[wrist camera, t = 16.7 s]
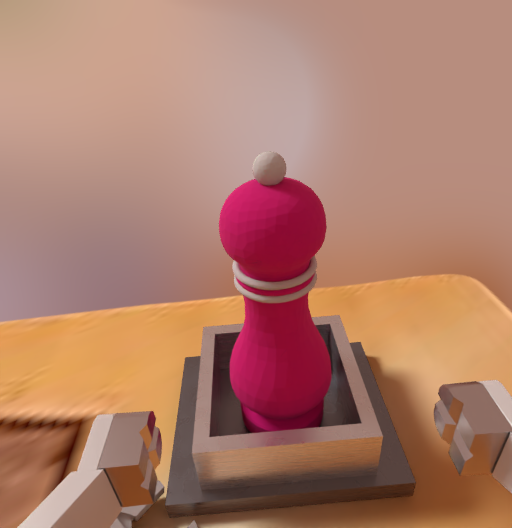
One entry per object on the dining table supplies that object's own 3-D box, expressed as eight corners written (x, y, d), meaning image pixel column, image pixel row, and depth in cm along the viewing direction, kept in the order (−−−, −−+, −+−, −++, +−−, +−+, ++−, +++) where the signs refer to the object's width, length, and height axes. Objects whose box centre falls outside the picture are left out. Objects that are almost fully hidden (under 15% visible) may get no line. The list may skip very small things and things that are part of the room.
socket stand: (169, 517, 26) (152, 468, 23) (187, 369, 37) (177, 323, 34) (412, 495, 26) (425, 444, 23) (359, 353, 37) (363, 307, 35)
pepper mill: (222, 441, 29) (172, 174, 19) (250, 368, 35) (225, 133, 24) (322, 463, 27) (331, 179, 17) (335, 382, 33) (347, 133, 22)
